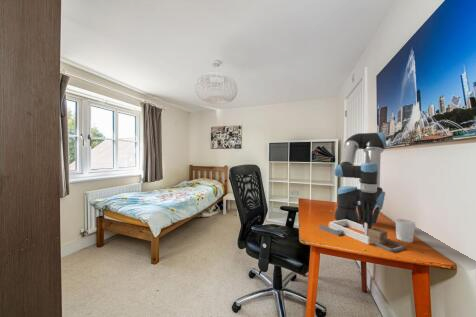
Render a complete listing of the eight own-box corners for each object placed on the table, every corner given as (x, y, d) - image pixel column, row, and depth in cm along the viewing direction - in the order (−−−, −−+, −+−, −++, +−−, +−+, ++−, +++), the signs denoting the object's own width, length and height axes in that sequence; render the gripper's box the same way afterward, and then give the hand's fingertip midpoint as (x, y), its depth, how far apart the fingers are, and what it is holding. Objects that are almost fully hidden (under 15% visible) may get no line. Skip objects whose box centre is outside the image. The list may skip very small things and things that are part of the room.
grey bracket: (384, 240, 100) (384, 238, 100) (405, 248, 92) (405, 246, 92) (372, 244, 96) (372, 241, 96) (392, 252, 88) (392, 250, 88)
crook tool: (324, 227, 118) (324, 223, 118) (343, 234, 108) (343, 230, 108) (318, 228, 116) (319, 225, 116) (338, 235, 106) (338, 232, 106)
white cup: (414, 240, 102) (415, 221, 102) (414, 244, 96) (414, 225, 96) (395, 235, 108) (396, 217, 107) (394, 239, 102) (394, 221, 102)
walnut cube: (374, 238, 103) (375, 227, 102) (387, 243, 97) (387, 231, 97) (367, 240, 100) (367, 229, 100) (379, 245, 95) (379, 233, 95)
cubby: (346, 224, 123) (346, 219, 123) (386, 239, 101) (387, 233, 101) (328, 227, 117) (328, 222, 117) (367, 244, 95) (368, 237, 95)
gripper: (352, 189, 108) (351, 231, 108) (376, 194, 96) (375, 240, 96) (361, 189, 110) (360, 229, 111) (385, 193, 98) (384, 238, 99)
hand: (367, 234), depth 103 cm, fingers closed
